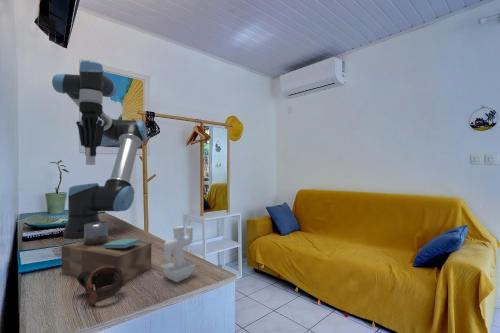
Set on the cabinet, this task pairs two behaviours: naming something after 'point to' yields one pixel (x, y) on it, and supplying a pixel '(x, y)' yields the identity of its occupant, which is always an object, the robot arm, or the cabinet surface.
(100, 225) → the pin
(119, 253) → the block
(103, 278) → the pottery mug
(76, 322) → the cabinet surface
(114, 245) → the latch
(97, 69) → the robot arm
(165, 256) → the figurine
